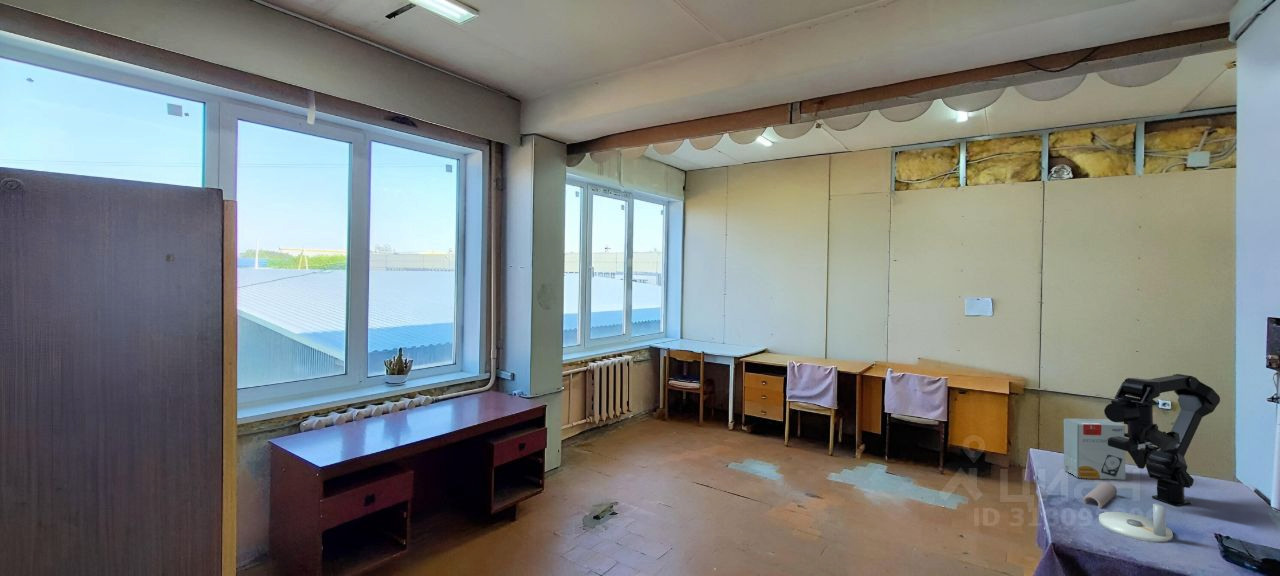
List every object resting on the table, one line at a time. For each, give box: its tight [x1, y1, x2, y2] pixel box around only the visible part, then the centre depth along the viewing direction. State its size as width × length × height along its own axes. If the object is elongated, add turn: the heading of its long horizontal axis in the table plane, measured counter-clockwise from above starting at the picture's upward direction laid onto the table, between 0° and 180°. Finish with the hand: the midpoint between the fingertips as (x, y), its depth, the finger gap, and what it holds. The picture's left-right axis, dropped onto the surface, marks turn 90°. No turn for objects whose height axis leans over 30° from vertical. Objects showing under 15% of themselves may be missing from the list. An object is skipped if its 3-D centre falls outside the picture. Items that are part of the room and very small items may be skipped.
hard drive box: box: [1063, 418, 1126, 481], centre depth 183 cm, size 16×8×20 cm, turn 81°
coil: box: [1082, 481, 1118, 509], centre depth 163 cm, size 5×5×18 cm
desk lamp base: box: [1098, 503, 1174, 543], centre depth 144 cm, size 15×15×9 cm
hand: (1141, 468), depth 159 cm, fingers closed
